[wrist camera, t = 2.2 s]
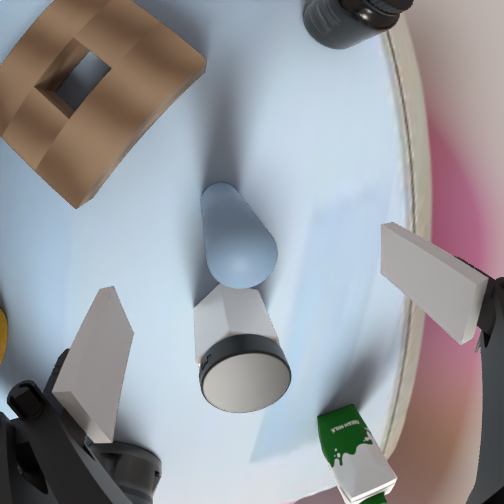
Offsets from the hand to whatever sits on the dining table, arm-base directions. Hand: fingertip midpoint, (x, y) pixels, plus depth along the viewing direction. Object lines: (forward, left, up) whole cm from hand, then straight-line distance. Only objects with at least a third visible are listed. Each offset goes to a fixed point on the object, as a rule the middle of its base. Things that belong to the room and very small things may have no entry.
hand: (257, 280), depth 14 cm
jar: (-9, -10, -19) cm, 23 cm away
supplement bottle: (+23, +6, -19) cm, 30 cm away
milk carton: (-15, -42, -19) cm, 48 cm away
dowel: (0, 0, -18) cm, 18 cm away
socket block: (0, +19, -18) cm, 26 cm away
